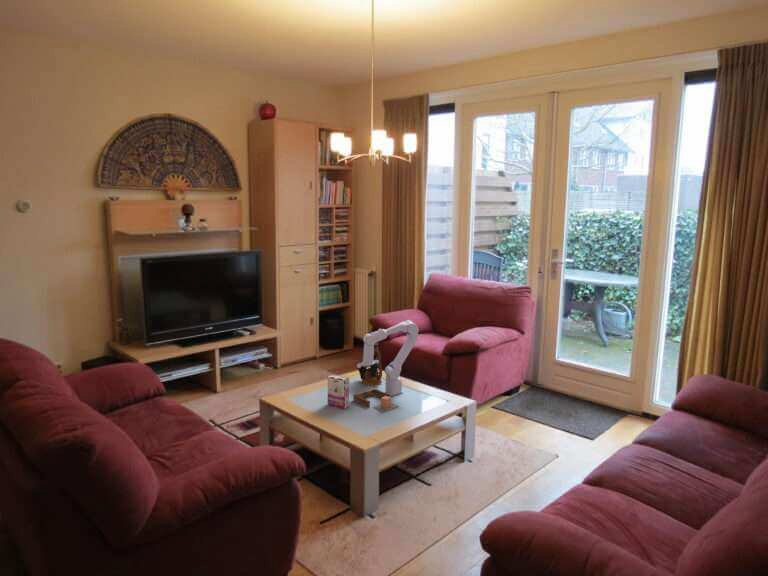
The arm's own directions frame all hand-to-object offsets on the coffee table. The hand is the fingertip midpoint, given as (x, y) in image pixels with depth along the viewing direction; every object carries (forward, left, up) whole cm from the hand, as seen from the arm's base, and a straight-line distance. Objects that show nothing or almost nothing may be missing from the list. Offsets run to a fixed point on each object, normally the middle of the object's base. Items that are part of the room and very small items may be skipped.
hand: (367, 377), depth 311 cm
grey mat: (+4, +20, -10) cm, 23 cm away
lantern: (-16, -15, -11) cm, 25 cm away
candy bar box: (+23, +2, -11) cm, 25 cm away
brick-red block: (+4, +20, -10) cm, 23 cm away
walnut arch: (+4, +8, -10) cm, 14 cm away
